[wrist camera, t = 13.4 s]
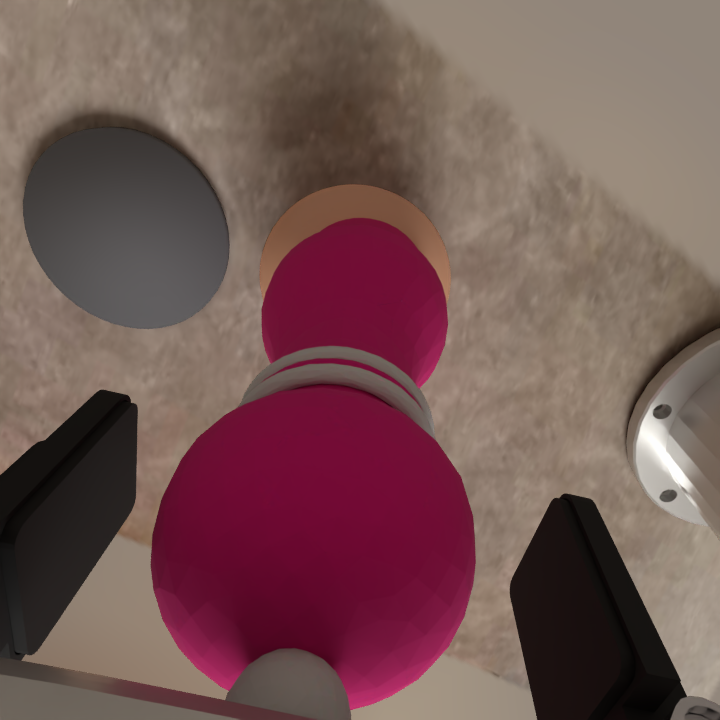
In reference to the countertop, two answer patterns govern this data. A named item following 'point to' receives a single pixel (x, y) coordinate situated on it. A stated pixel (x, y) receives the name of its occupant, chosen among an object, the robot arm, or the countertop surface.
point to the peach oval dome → (345, 205)
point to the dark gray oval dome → (126, 227)
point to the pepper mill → (324, 493)
